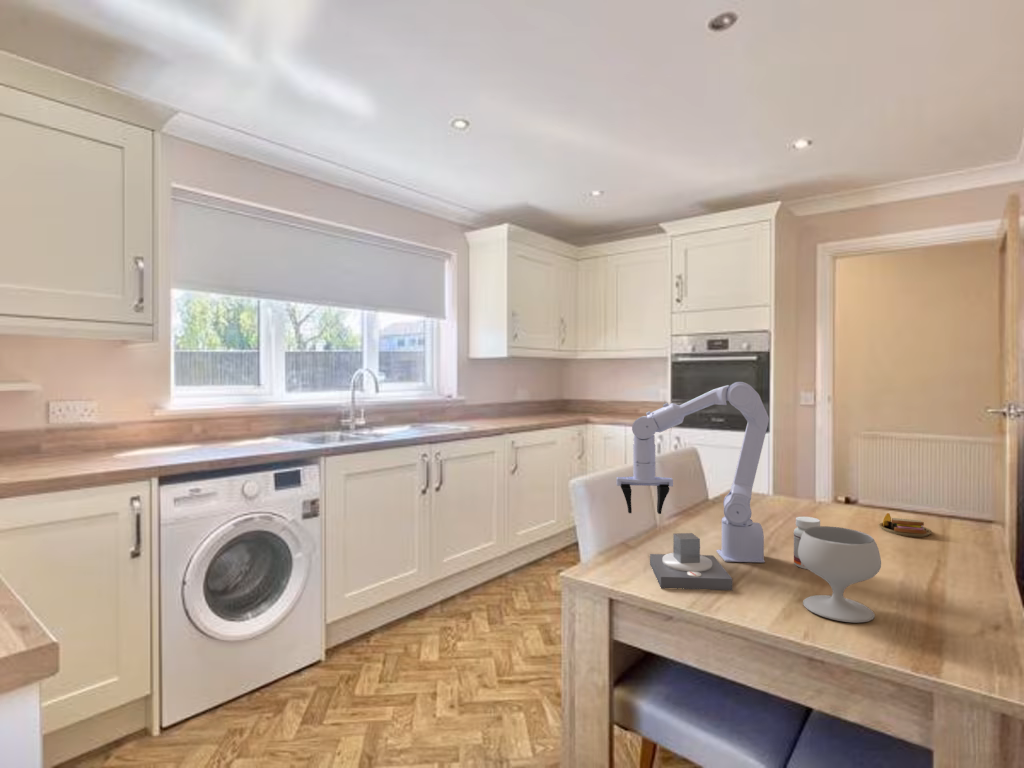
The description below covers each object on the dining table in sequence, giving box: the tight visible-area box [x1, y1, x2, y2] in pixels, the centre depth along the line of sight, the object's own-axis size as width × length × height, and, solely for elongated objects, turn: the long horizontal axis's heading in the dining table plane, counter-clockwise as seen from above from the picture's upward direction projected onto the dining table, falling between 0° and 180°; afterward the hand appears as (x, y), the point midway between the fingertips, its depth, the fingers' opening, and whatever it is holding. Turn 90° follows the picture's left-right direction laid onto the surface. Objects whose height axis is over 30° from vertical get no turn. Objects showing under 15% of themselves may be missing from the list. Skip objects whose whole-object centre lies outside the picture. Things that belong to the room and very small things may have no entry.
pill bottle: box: [793, 516, 821, 571], centre depth 132 cm, size 6×6×11 cm
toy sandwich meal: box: [878, 512, 933, 538], centre depth 160 cm, size 12×14×5 cm
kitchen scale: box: [649, 552, 733, 591], centre depth 126 cm, size 15×15×3 cm
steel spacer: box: [672, 532, 701, 563], centre depth 128 cm, size 4×4×6 cm
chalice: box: [798, 525, 882, 624], centre depth 108 cm, size 14×14×15 cm
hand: (644, 512), depth 147 cm, fingers open, 7 cm apart
